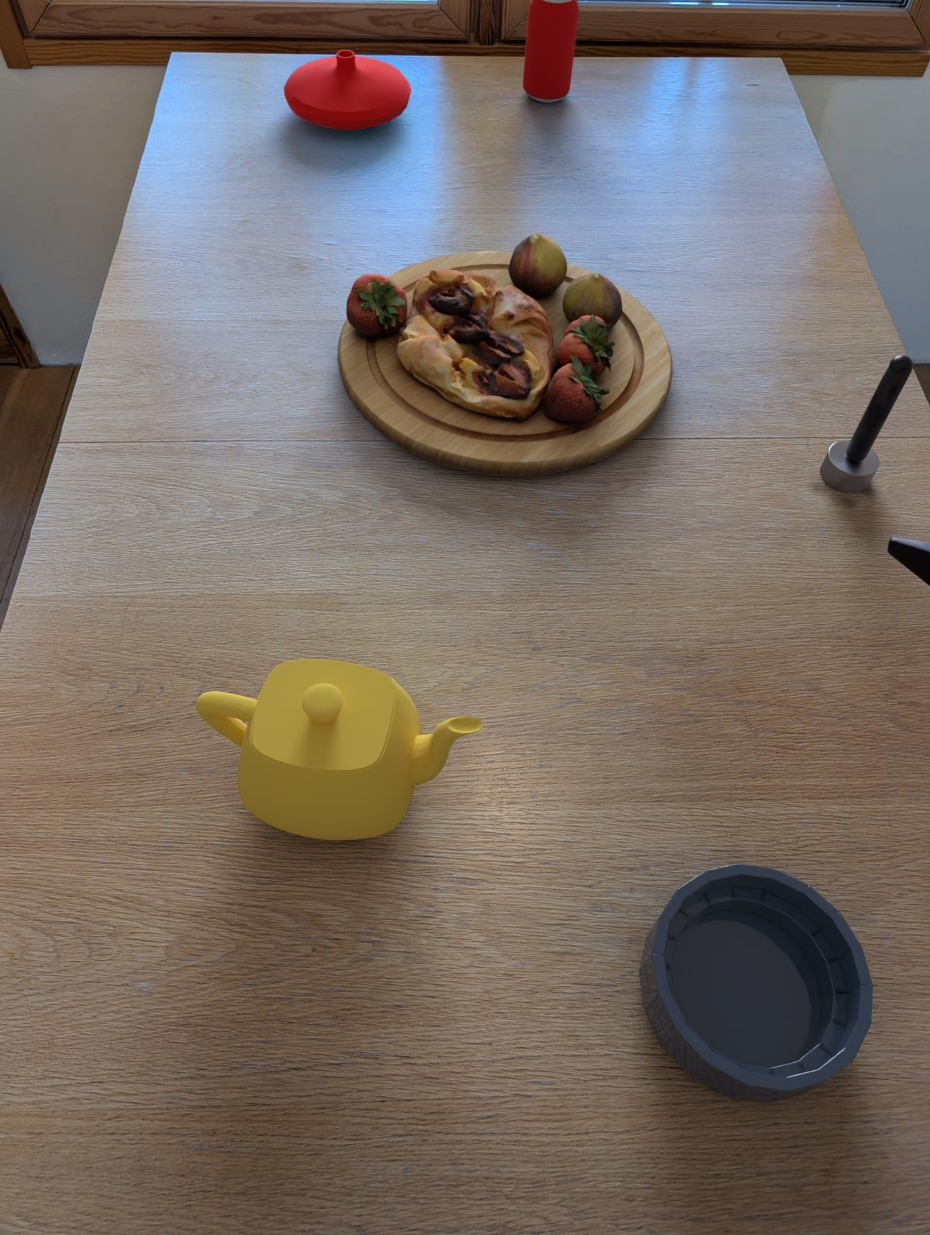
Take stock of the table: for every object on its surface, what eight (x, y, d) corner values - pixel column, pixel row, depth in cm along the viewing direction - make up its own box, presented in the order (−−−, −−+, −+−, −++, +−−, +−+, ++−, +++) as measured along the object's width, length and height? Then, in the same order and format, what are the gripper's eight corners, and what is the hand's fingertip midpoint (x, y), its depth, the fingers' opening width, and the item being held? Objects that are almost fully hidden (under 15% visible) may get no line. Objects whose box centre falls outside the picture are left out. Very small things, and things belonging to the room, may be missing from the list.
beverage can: (573, 106, 122) (586, 2, 112) (526, 107, 121) (534, 3, 111) (563, 83, 125) (575, -19, 115) (518, 84, 124) (526, -18, 115)
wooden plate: (274, 413, 86) (261, 338, 79) (428, 237, 103) (428, 163, 96) (602, 532, 79) (618, 461, 72) (708, 321, 96) (729, 248, 89)
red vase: (392, 154, 113) (390, 93, 107) (268, 134, 115) (260, 73, 109) (425, 94, 122) (425, 35, 116) (310, 76, 124) (304, 17, 118)
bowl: (848, 925, 60) (878, 899, 56) (833, 1137, 53) (865, 1125, 49) (658, 866, 62) (674, 837, 58) (618, 1063, 55) (633, 1046, 51)
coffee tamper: (871, 464, 85) (934, 346, 74) (868, 498, 82) (933, 381, 72) (822, 452, 85) (878, 334, 75) (817, 486, 83) (875, 368, 72)
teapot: (485, 729, 67) (494, 646, 59) (463, 877, 61) (469, 808, 52) (241, 694, 68) (214, 607, 60) (194, 836, 62) (156, 761, 53)
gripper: (1285, 350, 52) (977, 314, 60) (1234, 564, 42) (877, 487, 50) (1211, 506, 59) (947, 456, 67) (1155, 716, 50) (856, 629, 58)
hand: (912, 500), depth 61 cm, fingers open, 9 cm apart
